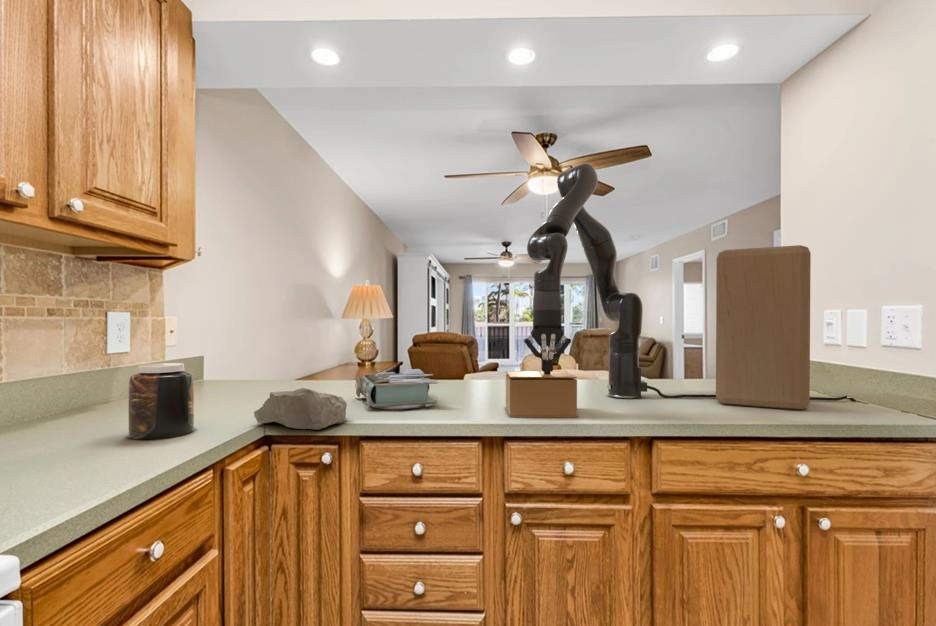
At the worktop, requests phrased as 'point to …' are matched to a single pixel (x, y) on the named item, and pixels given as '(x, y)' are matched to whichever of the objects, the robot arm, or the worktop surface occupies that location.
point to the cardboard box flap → (556, 374)
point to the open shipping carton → (540, 395)
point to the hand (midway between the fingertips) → (547, 373)
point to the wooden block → (763, 327)
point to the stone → (302, 409)
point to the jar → (161, 401)
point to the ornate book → (396, 389)
